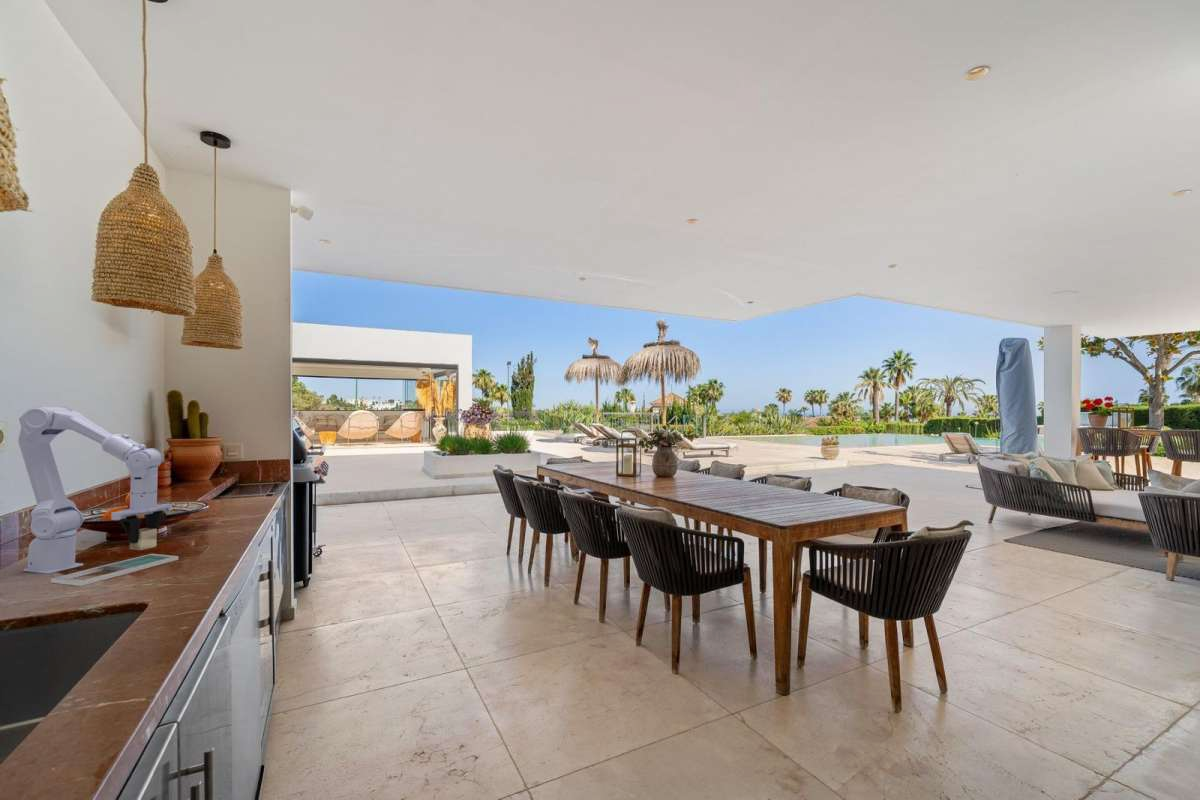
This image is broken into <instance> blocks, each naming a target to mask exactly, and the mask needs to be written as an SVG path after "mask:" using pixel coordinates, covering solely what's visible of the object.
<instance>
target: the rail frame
mask: <svg viewBox="0 0 1200 800" xmlns="http://www.w3.org/2000/svg"><path fill="white" fill-rule="evenodd" d="M175 561H179V556H178V555H172V554H171V555H169V554H160V553H159V554H157V553H149V554H146V555H145V554H144V555H140V556H137V557H133V558H128V559H124V560H121V561H117V562H112V563H108V564H105V565H101V566H96V567H92V568H88V569H85V570H80V571H77V572H72V573H68V574H64V575H60V576H56V577H52V578H50V583H52V584H53V583H54V584H61V585H68V586H69V585H71V586H76V587H77V586H78V587H82V586H85V585H90V584H93V583H96V582H100V581H105V580H108V579H111V578H115V577H119V576H123V575H126V574H131V573H134V572H137V571H142V570H145V569H149V568H151V567H156V566H160V565H161V566H162V565H164V564H168V563H171V562H175ZM103 571H112V572H109V573H106V574H100V575H98V576H94V577H90V578H86V579H77V578H78V577H82V576H87V575H90V574H91V575H92V574H94V573H98V572H103Z"/></svg>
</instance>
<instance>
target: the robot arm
mask: <svg viewBox="0 0 1200 800" xmlns="http://www.w3.org/2000/svg"><path fill="white" fill-rule="evenodd" d="M18 420H19V424H20V431H19V435H18V438H17V439H18V446H19V448H20V451H21V455H22V458H23V462H24V464H25V469H26V472H27V475H28V478H29V481H30V484H31V488H32V491H33V494H34V497H35V501H36V506H35V507H34V508H33V509H32V511H31V512H30V516H31V521H30V522H31V523H30V526H29V527H30V532H31V533H32V534H33V536H35V538H34V539H32V540H31V542H30V543H29V545H28V548H27V549H28V550H27V551H28V554H27V568H24V569H23V572H29V573H36V574H37V573H40V574H53V573H58V572H61V571H65V570H71V569H73V568H78V567H82V566H84V563H81V562H76V548H77V547H76V546H77V545H76V543H77V532H78V529H79V528H80V527H81V526H82V525H83V522H84V515H83V513H82V512H81V511H80V510H79V509H78V508H77V505H76V503H75V502H74V501H72V500H71V499H69V498H68V497H66V496H67V495H66V493H65V490H64V486H63V484H62V480H61V477H60V474H59V469H58V466H57V463H56V461H55V457H54V454H53V450H52V447H51V442H52V441H53V440H54V439H55V438H56V437H57V436H58V435H60V434H61V433H63V432H65V431H67V430H71V431H73V432H75V433H77V434H80V435H82V436H84V437H86V438H88V439H91V440H92V441H95V442H97V443H99V444H101V448H102V451H104V452H106V453H108V454H109V455H111V456H112V457H115V458H116V459H118V460H120V461H122V462H123V463H125V465H126V467H127V468H128V469H129V475H130V487H129V488H130V490H129V491H130V492H129V508H128V509H122V510H118V511H114V512H111V513H110V516H111V517H110V518H111V521H118V522H119V523H120V525H121V526H122V527H123V529H124V531H125V533H126V535H127V538H128V543H129V544H130V543H134V544H135V543H138V539H139V529H141V528H140V527H141V524H142V521H143V518H140V517H139V516H144V520H145V525H146V528H154V529H157V533H158V531H159V529H160V527H161V524H162V522H163V521H164V520H165V519H166V517H167V512H171V511H173V503H163V504H162V503H161V504H158V475H159V473H158V471H159V469H158V468H159V467H160V465H161V464H162V463H163V454H162V452H160V450H158V449H157V448H153V447H152V448H151V447H150V448H147V447H146V444H144V443H139V442H137V441H135V440H133V439H131V437H130V436H131V435H129V434H126V433H123V434H122V433H114V434H113V433H111V432H109V431H107V430H106V429H105V428H103V427H101V426H99V424H96V423H95V422H93V421H91V420H90V419H88V418H86V417H85V416H84V415H83V414H81V412H79V411H75V410H73V409H72V408H70V407H68V406H57V407H56V406H55V407H54V406H32V407H29V408H28V409H27V410H25V412H24V413H22V415H20V417H19V418H18Z"/></svg>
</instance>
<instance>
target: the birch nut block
mask: <svg viewBox="0 0 1200 800" xmlns="http://www.w3.org/2000/svg"><path fill="white" fill-rule="evenodd" d="M157 537H158V532H157V529H154V528H147V527H144V528H139V539H138V543H135V544H134V543H129V550H136V551H143V550H146V549H151V548H156V547H157V542H158V541H157Z"/></svg>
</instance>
